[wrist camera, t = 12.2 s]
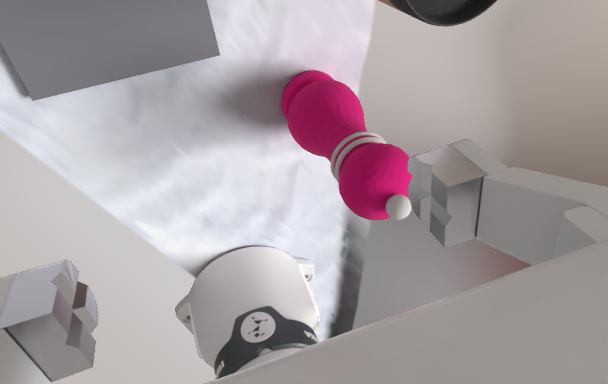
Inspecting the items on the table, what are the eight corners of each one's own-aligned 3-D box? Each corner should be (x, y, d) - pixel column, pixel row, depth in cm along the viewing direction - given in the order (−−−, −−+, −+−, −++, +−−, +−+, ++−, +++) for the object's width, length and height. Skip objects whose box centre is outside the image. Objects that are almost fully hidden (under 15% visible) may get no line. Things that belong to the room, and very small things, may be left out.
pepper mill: (266, 122, 46) (339, 249, 31) (291, 56, 43) (387, 160, 27) (325, 136, 49) (418, 257, 34) (353, 76, 46) (468, 179, 31)
